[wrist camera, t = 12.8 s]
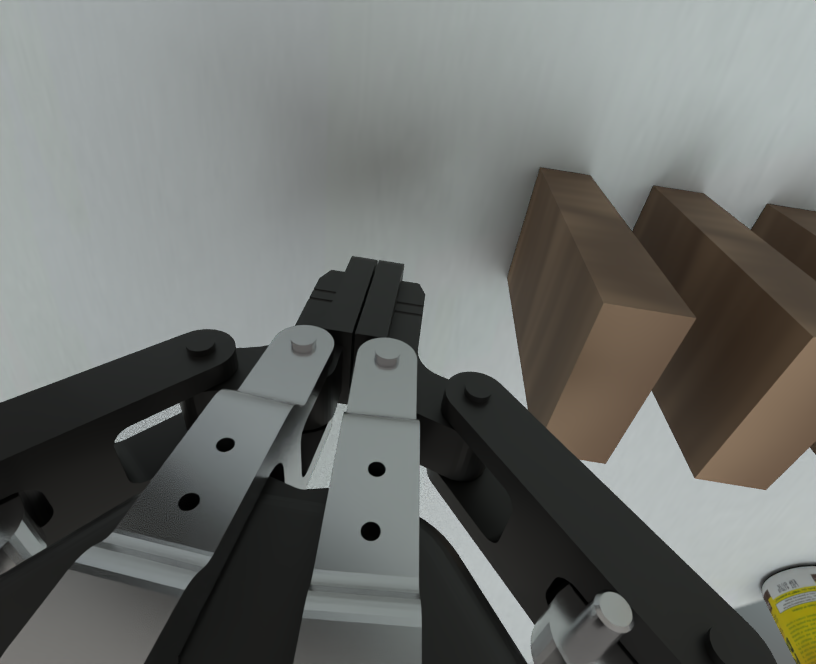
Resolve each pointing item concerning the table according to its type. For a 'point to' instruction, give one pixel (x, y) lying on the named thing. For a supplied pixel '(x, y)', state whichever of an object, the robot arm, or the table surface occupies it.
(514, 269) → the domino
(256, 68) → the table surface
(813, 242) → the domino
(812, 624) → the supplement bottle
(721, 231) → the domino
